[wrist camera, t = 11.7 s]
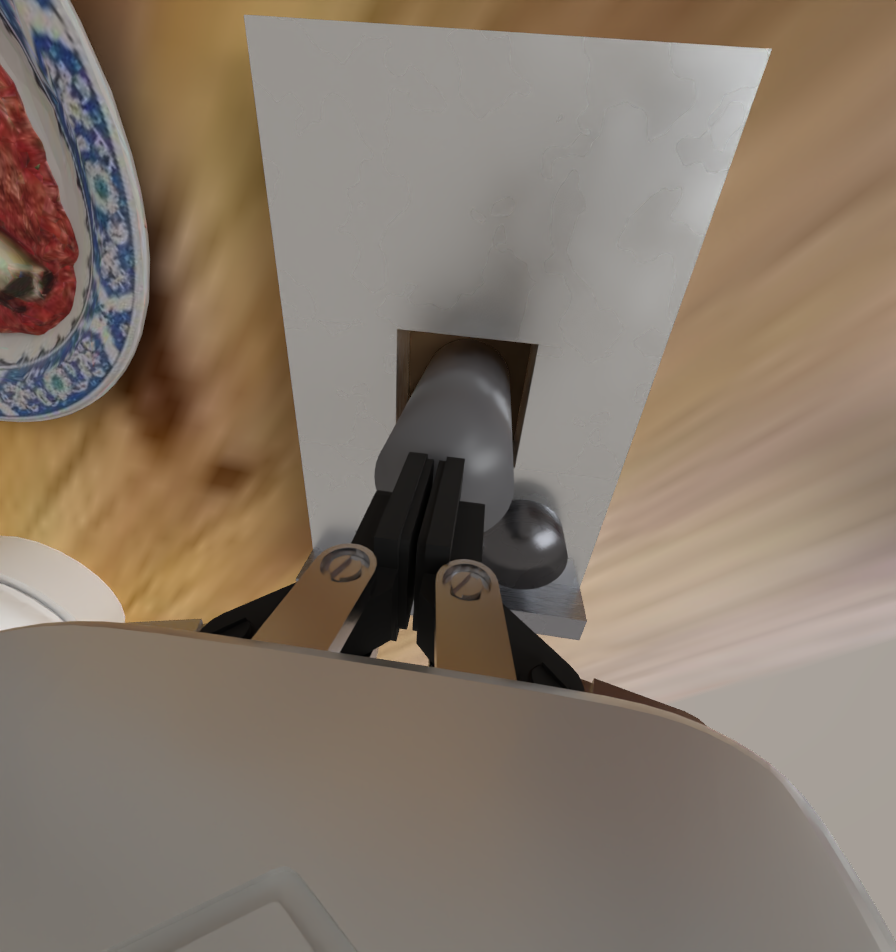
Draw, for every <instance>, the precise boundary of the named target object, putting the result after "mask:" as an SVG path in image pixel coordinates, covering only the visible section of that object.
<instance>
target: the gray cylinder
mask: <svg viewBox="0 0 896 952" xmlns="http://www.w3.org/2000/svg"><path fill="white" fill-rule="evenodd" d="M409 452H416V453H424V454H428V459H434V472H433V482H434V478H435V474H436V471H437V467H438V463H439V460H442V461H446V458H447V456H448V457H456V458H464V459H465V464H464V473H463V481H462V490H461V498H460V501H465V502H473V503H480V504H485V517H484V532H485V531H487V530H489V529H490V528H492V527H493V526H494V525H495V524H497V523H498V522H499V521H500V520H501V519H502V517H503V516H504V515H505V513H506V512H507V510H508V509H509V506H510V504H511V502H512V498H513V494H514V468H513V444H512V419H511V395H510V375H509V370H508V367H507V365H506V362H505V360H504V359H503V357H502V356H501V355H500V354H499V353H498V351H496V350H495V349H494V348H493V347H491V346H490V345H488V344H486V343H484V342H481V341H478V340H473V339H462V340H457V341H453V342H451V343H448V344H447V345H445V346H443V347H442V348H441V349H439V350H438V351H437V352H436V353H435V355H434V356H433V357H432V359H431V361H430V363H429V364H428V366H427V368H426V370H425V372H424V373H423V375H422V377H421V379H420V381H419V383H418V384H417V386H416V388H415V390H414V392H413V394H412V395H411V397H410V399H409V401H408V403H407V405H406V406H405V408H404V410H403V412H402V414H401V416H400V417H399V419H398V421H397V423H396V425H395V426H394V428H393V430H392V432H391V434H390V436H389V437H388V439H387V441H386V443H385V445H384V447H383V448H382V450H381V452H380V454H379V456H378V459H377V461H376V466H375V474H374V479H375V486H376V490H381V491H388V492H393V490H394V487H395V485H396V482H397V480H398V477H399V475H400V473H401V470H402V468H403V465H404V463H405V461H406V458H407V456H408V453H409Z"/></svg>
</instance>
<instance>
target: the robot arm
mask: <svg viewBox="0 0 896 952" xmlns="http://www.w3.org/2000/svg"><path fill="white" fill-rule="evenodd" d="M464 464H465V459H464V458H456V457H448V456H447V458H446V461H442V460H439V463H438V467H437V471H436V474H435V478H434V482H433V472H434V459H428V454H424V453H416V452H409V453H408V456H407V458H406V461H405V463H404V465H403V468H402V470H401V473H400V475H399V477H398V480H397V482H396V485H395V487H394V490H393V492H388V491H381V490H377V491H376V492H375V494H374V496H373V498H372V500H371V502H370V505H369V507H368V509H367V511H366V513H365V515H364V517H363V519H362V521H361V523H360V525H359V527H358V530H357V532H356V534H355V536H354V538H353V540H352V542H351V543H348V544H339V545H336V546H332V547H330V548H328V549H326V550H324V551H323V552H322V553H321V554H320V555H319V556H317V558H316V559H315V560H314V561H313V563H312V564H311V565H310V566H309V568H308V569H307V570H306V571H305V573H304V574H303V575H302V576H301V578H300V579H299V580H298V581H297V582H296V583H294V584H291V585H289V586H287V587H284V588H282V589H280V590H277V591H275V592H273V593H270V594H268V595H266V596H263V597H261V598H259V599H256V600H254V601H252V602H249V603H247V604H245V605H242V606H240V607H238V608H235V609H233V610H230V611H228V612H226V613H223V614H222V615H220V616H218V617H216V618H214V619H212V620H211V621H210V622H209V623H208V624H203V622H202V620H201V619H188V620H169V621H149V622H130V623H117V622H105V621H68V622H52V623H40V624H34V625H28V626H22V627H15V628H10V629H5V630H1V631H0V952H896V941H895V939H894V937H893V936H892V934H891V932H890V930H889V928H888V927H887V925H886V923H885V921H884V919H883V918H882V916H881V914H880V912H879V911H878V909H877V907H876V906H875V904H874V902H873V901H872V899H871V897H870V896H869V894H868V892H867V890H866V889H865V887H864V886H863V884H862V882H861V880H860V879H859V877H858V876H857V874H856V872H855V870H854V869H853V867H852V866H851V864H850V862H849V861H848V859H847V858H846V856H845V855H844V853H843V851H842V850H841V848H840V847H839V845H838V844H837V842H836V841H835V839H834V837H833V836H832V834H831V833H830V831H829V830H828V828H827V827H826V825H825V824H824V822H823V821H822V820H821V818H820V817H819V816H818V814H817V813H816V811H815V810H814V809H813V807H812V806H811V805H810V804H809V802H808V801H807V800H806V799H805V797H804V796H803V795H802V793H801V792H800V791H799V790H798V789H797V788H796V787H795V786H794V785H793V784H792V783H791V782H790V781H789V779H787V777H786V776H784V775H783V774H782V773H781V772H780V771H779V770H777V769H776V768H775V767H774V766H773V765H771V764H770V763H769V762H767V761H766V760H765V759H763V758H761V757H760V756H759V755H757V754H756V753H754V752H753V751H751V750H750V749H748V748H746V747H745V746H743V745H741V744H740V743H738V742H737V741H735V740H733V739H731V738H728V737H727V736H725V735H723V734H721V733H719V732H717V731H715V730H713V729H711V728H709V727H707V726H706V725H705V724H704V723H703V722H701V721H700V720H699V719H698V718H696V717H694V716H692V715H690V714H688V713H686V712H685V711H682V710H679V709H676V708H674V707H671V706H668V705H666V704H663V703H660V702H657V701H655V700H652V699H649V698H646V697H644V696H641V695H638V694H635V693H633V692H630V691H627V690H625V689H622V688H619V687H616V686H614V685H611V684H608V683H605V682H603V681H600V680H597V679H593V681H592V683H590V682H588V681H585V680H582V679H580V677H579V675H578V674H577V673H576V672H575V671H574V669H573V668H572V667H571V666H570V665H569V664H568V663H567V662H566V661H565V660H564V659H563V658H561V657H560V656H559V655H558V654H557V653H556V652H555V651H554V650H553V649H552V648H551V647H550V646H548V645H547V644H546V643H545V642H544V641H543V640H542V639H541V638H540V637H539V636H538V635H537V634H536V633H534V632H533V631H532V630H531V629H530V628H529V627H528V626H527V625H526V624H525V623H524V622H523V621H521V620H520V619H519V618H518V617H517V616H516V615H515V614H514V613H513V612H512V611H511V610H510V609H508V608H507V607H506V606H505V605H504V604H503V603H502V599H501V594H500V588H499V583H498V580H497V578H496V575H495V574H494V573H493V572H492V570H491V569H490V568H488V567H487V566H485V565H484V564H482V551H483V534H484V517H485V504H480V503H473V502H465V501H460V498H461V490H462V481H463V473H464ZM413 601H414V611H413V630H414V631H417V645H418V646H419V647H420V648H421V650H422V651H423V652H424V653H425V655H426V656H427V657H428V658H429V660H428V666H422V665H415V664H409V663H402V662H396V661H389V660H383V659H376V658H377V654H378V647H379V646H381V645H383V644H385V643H386V642H388V641H390V640H392V641H396V640H397V636H398V632H399V629H407V626H408V622H409V618H410V614H411V610H412V605H413Z"/></svg>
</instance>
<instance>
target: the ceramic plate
mask: <svg viewBox="0 0 896 952" xmlns="http://www.w3.org/2000/svg"><path fill="white" fill-rule="evenodd" d="M149 278H150V254H149V242H148V230H147V223H146V217H145V211H144V205H143V199H142V193H141V189H140V185H139V181H138V177H137V172H136V168H135V164H134V160H133V156H132V153H131V150H130V146H129V143H128V140H127V137H126V134H125V131H124V128H123V125H122V122H121V119H120V116H119V113H118V110H117V106H116V103H115V100H114V97H113V94H112V91H111V89H110V87H109V85H108V82H107V80H106V78H105V75H104V73H103V71H102V69H101V66H100V64H99V62H98V59H97V57H96V55H95V53H94V50H93V48H92V46H91V44H90V41H89V39H88V37H87V34H86V32H85V30H84V28H83V25H82V23H81V21H80V19H79V17H78V15H77V13H76V11H75V9H74V7H73V5H72V3H71V1H70V0H0V421H12V422H32V421H44V420H50V419H56V418H59V417H63V416H66V415H69V414H72V413H74V412H76V411H78V410H80V409H82V408H84V407H86V406H88V405H90V404H92V403H93V402H95V401H96V400H97V399H99V398H100V397H102V396H103V395H104V394H105V393H106V392H108V391H109V390H110V389H111V388H112V387H113V386H114V385H115V384H116V383H117V381H118V380H119V379H120V377H121V376H122V375H123V373H124V372H125V371H126V369H127V367H128V365H129V364H130V362H131V360H132V358H133V356H134V354H135V352H136V349H137V347H138V344H139V341H140V338H141V336H142V332H143V327H144V322H145V318H146V313H147V308H148V303H149Z"/></svg>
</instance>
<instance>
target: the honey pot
mask: <svg viewBox="0 0 896 952" xmlns="http://www.w3.org/2000/svg"><path fill="white" fill-rule="evenodd" d="M68 621H105V622H117V623H125V615H124V612H123V609H122V605H121V603H120V602H119V600H118V599H117V597H116V596H115V594H114V593H113V591H112V590H111V589H110V588H109V587H108V586H107V585H106V584H105V583H104V582H103V581H102V580H101V579H100V578H99V577H98V576H97V575H96V574H94V573H93V572H92V571H90V570H89V569H88V568H86V567H85V566H84V565H82V564H81V563H80V562H78V561H76V560H74V559H73V558H71V557H69V556H67V555H66V554H64V553H62V552H60V551H58V550H56V549H54V548H51V547H49V546H46V545H44V544H41V543H39V542H36V541H32V540H28V539H24V538H20V537H14V536H0V631H1V630H5V629H10V628H15V627H22V626H28V625H34V624H40V623H52V622H68Z"/></svg>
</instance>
